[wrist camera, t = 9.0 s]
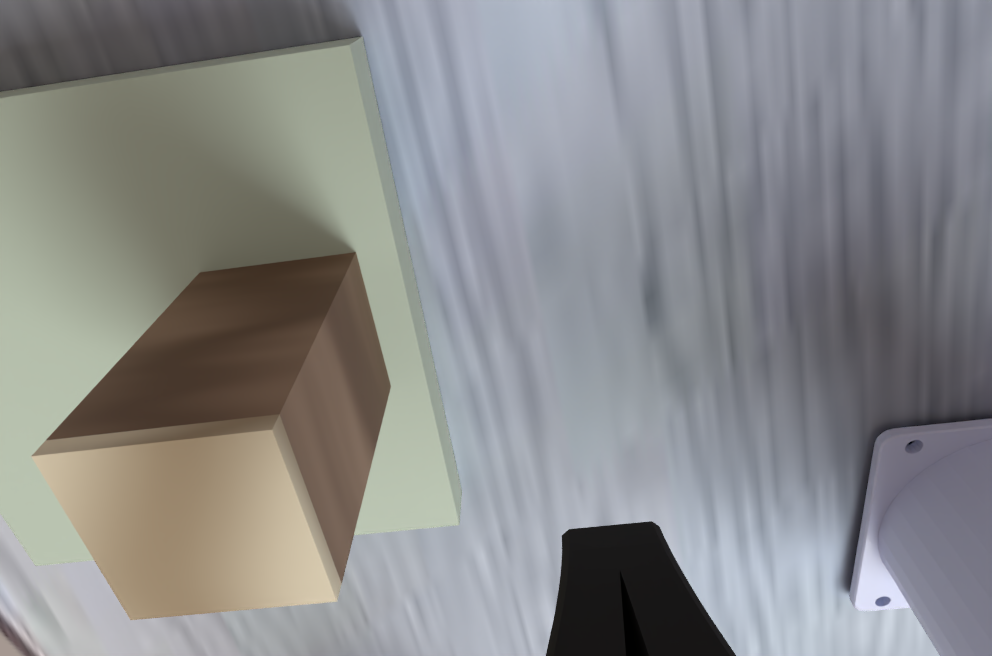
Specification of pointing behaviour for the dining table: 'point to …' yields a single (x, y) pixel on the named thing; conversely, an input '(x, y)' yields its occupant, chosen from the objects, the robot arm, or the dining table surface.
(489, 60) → the dining table surface
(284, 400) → the block
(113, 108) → the board
